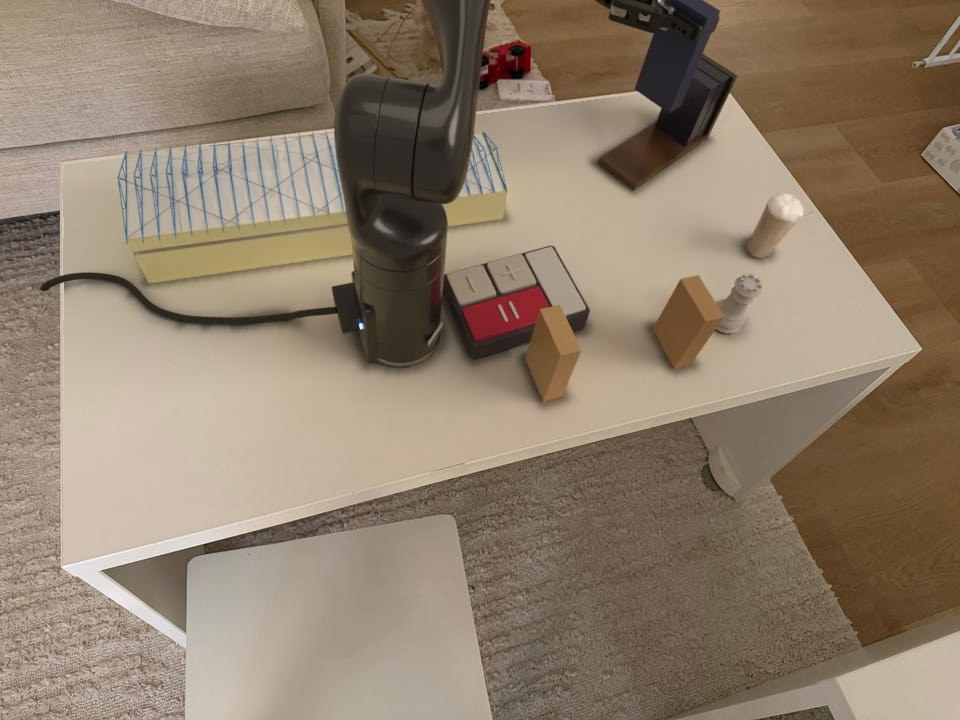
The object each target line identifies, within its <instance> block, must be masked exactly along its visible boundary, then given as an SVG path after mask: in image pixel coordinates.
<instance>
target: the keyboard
mask: <svg viewBox="0 0 960 720" xmlns="http://www.w3.org/2000/svg"><path fill="white" fill-rule="evenodd" d="M297 134H298V136H297V135H296V136H289V137H286V136H284V137H279V138H278V137H277V138H272V136H270V138H268V139H259V138H258V137H256V140H249V141H244V139H242V141H240V142H239V141H238V142H230V140H229V139H228V141H227V142H225V143H218V144H216V141H214V142H213V144H210V145H202V144H201V143H199V146H191V147H187V145H186V144H185V145H184V147H180V148H172V147H173V146H170V147H169V149H160V150H158V149H157V147H155V149H154V150H149V151H143V150H142V149H140V151H139V152H129V153H128V151H127V150H125V153H124V156H123V159H122V161H121V165H120V169H119V171H118V175H117V176H116V179H117V184H118V191H119V199H120V206H121V207H120V208H121V212H122V213H121V215H122V220H123V228H124V235H125V236H124V237H125V241H126V245H127V246H128V247H129V249H130V251H131V253H133V256H134V259H135V260H136V262H137V264H138V266H139V268H140V270H141V271H142V274H143V275H144V277H145V279H146V281H147V283H148V284H155V283H161V282H169V281H175V280H183V279H188V278H189V279H191V278H197V277H204V276H211V275H217V274H218V275H219V274H226V273H232V272H238V271H245V270H252V269H260V268H261V269H262V268H267V267H274V266H281V265H288V264H289V265H290V264H294V263H302V262H309V261H315V260H316V261H317V260H322V259H329V258H330V259H331V258H337V257H344V256H351V255H352V256H353V252H352V243H351V234H350V232H349V229H348V225H347V218H346V211H345V205H344V199H343V193H342V188H341V183H340V178H339V173H338V167H337V160H336V152H335V137H334V132H327V131H325V133H318V134H314V132H313V131H312V132H311V133H310V134H307V135H303V134H302V135H300V133H297ZM491 144H492V145H491ZM492 146H493V147H494V148H492ZM494 151H496V159H497V161H496V159H495V156H494V153H493V152H494ZM124 165H125V166H124ZM124 167H125V168H124ZM122 172H123V175H121V173H122ZM123 176H124V178H123ZM121 181H124V182H125V197H124V192H123V189H122V184H121ZM507 197H508V188H507V183H506V179H505V175H504V170H503V166H502V163H501V158H500V154H499V151H498V146H496V144H495V143H494V142H493V141H492V140H491V139H490V137H489V136H488V135H487V134H486V132H485V131H483V132H476V133H475V132H474V136H473V144H472V151H471V157H470V163H469V168H468V172H467V176H466V180H465V183H464V185H463V188H462V190H461V192H460V194H459V196H458V197H457V198H456V199H455V200H454V201H453V202H451V203H449V204H442V205H443V207H444V209H445V211H446V215H447V220H448V227H454V226H462V225H469V224H478V223H483V222H490V221H492V222H493V221H498V220H503V219H504V213H505V209H506V203H507ZM123 204H124V205H123ZM123 206H124V207H123ZM124 211H125V214H124Z"/></svg>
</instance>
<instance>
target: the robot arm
mask: <svg viewBox="0 0 960 720" xmlns="http://www.w3.org/2000/svg"><path fill="white" fill-rule="evenodd" d="M491 1H492V0H420V2H421V4H422V6H423V8H424V10H425V13H426V15H427V18H428V20H429V23H430V27H431V29H432V33H433V36H434V39H435V42H436V45H437V50H438V54H439V59H440V64H441V71H442V78H441V81H440V82H439V83H437V84H433V83H429V82H423V81H418V80H411V79H405V78H399V77H392V76H387V75H382V74H381V75H380V74H376V73H368V72H365V73H364V72H362V73H356V74H354V75H352V76H351V77H350V78H349V79H348V80H347V81H346V82H345V83H344V85H343V87H342V89H341V91H340V94H339V96H338V98H337V103H336V107H335V113H334V126H333V133H334V137H335V152H336V160H337V167H338V173H339V178H340V183H341V188H342V193H343V199H344V205H345V211H346V218H347V225H348V229H349V232H350V234H351V243H352V252H353V254H352V261H353V270H352V271H351V275H350V276H351V282H348V283H342V284H336V285H333V286H331V292H332V299H333V302H334V303H333V304H334V306H328V307H327V306H326V307H318V308H317V307H316V308H309V309H301V310H295V311H293V312H292V311H291V312H286V313H275V314H267V315H258V316H257V315H256V316H255V315H254V316H241V317H240V316H239V317H237V316H236V317H232V316H231V317H229V316H228V317H224V316H203V315H199V316H198V315H190V314H189V315H188V314H182V313H177V312H174V311H170V310H167V309H164V308H162V307H160V306H157V305H156V304H154V303H153V302H151V301H150V300H149V299H148V298H147V297H146V296H145V295H144V293H142V291H141V290H139V288H138V287H137V286H135V284H133V283H132V282H131V281H130V280H128V279H126V278H124V277H122V276H118V275H115V274H111V273H104V272H90V271H89V272H87V271H86V272H85V271H83V272H73V273H67V274H62V275H58V276H55V277H53V278H50V279H49V280H47V281H45V282H44V283H43V284H42V285H41V286H40V287H39V291H41V292H47V291H49V290H51V288H53V287H54V286H57V285H60V284H62V283H66V282H73V281H80V280H82V281H83V280H94V281H95V280H97V281H106V282H110V283H111V282H112V283H116V284H118V285H121V286H123V287H124V288H126V289H127V290H128V291H129V292H131V294H132V295H133V296H134V297H135V298H136V299H137V300H138V301H139V302H140V303H141V304H142V305H143V306H144V307H145V308H146V309H148V310H149V311H151V312H152V313H154V314H155V315H158V316H161V317H163V318H166V319H170V320H174V321H177V322H182V323H190V324H203V325H253V324H254V325H255V324H264V323H271V322H282V321H290V320H295V319H300V318H308V317H318V316H328V315H329V316H330V315H337V318H338V321H339V326H340V330H341V333H342V334H347V333H352V332H357V331H358V332H359V339H360V343H361V345H362V347H363V351H364V354H365V358H366V362H367V363H368V364H373V363H379V364H382V365H385V366H386V367H387V366H388V367H393V368H408V367H413V366H416V365H418V364H421V363H423V362H425V361H426V360H427V359H429V358H430V357H431V356H432V355H433V354H435V351H436V350H437V349H438V346H439V344H440V340H441V332H442V331H441V329H442V328H443V325H444V321H443V320H442V308H443V307H442V306H443V297H444V295H443V283H444V275H445V267H446V255H447V245H448V244H447V243H448V232H449V231H448V229H449V226H448V220H447V215H446V211H445V209H444V207H443V205H442V204H449V203H451V202H453V201H454V200H455V199H456V198H457V197H458V196H459V194H460V192H461V190H462V188H463V185H464V183H465V180H466V176H467V172H468V168H469V163H470V157H471V151H472V144H473V136H474V134H475V126H476V118H477V107H478V99H479V92H480V91H479V90H480V82H481V81H480V80H481V71H482V63H483V53H484V48H485V47H484V45H485V37H486V30H487V23H488V19H489V10H490V7H491V6H490V5H491ZM594 1H595V2H596V3H598V4H600V5H601V6H603V7H604V8H606V9H607V10H609V13H608V16H607V18H608V20H609V21H611V22H614V23H618V24H620V25H624V26H627V27H630V28H634V29H637V30H640V31H643V32H646V33H649V34H654V33H655V32H656V30H657V29H658V28H660V29H662V30H664V31H668V30H671V31H672V32H674V33H675V34H677V35H678V36H680V37H682V38H683V39H685V40H687V41H688V42H690V43H692V44H693V43H695V42H697V41H698V40H699V38H700V36H701V33H702V31H703V25H702V24H701V23H699V22H698V21H696V20H695V19H693V18H691V17H690V16H688V15H687V14H685V13H683V12H682V11H680V10H679V11H677V12H676V7H674V6H673V5H672V4H670V3H669V2H668V1H666V0H594ZM719 22H720V15H719V16H718V18H717V21H716V23H715V25H714V28H713V30H712V32H711V34H713V33H714V32H715V31H716V28H717V26H718V25H719ZM441 320H442V321H441Z"/></svg>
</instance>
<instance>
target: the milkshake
mask: <svg viewBox="0 0 960 720" xmlns="http://www.w3.org/2000/svg"><path fill="white" fill-rule="evenodd" d="M804 213H805V212H804V206H803V204H802V203H801V201H800V200H799V199H797V197H795V196H794V195H792V194H790V193H784V192H783V193H776V194H774V195H773V196H771V197H770V198H769V199H768V200H767V203H766V204H765V207H764V209H763V211H762V213H761V216H760V218H759V220H758V221H757V224H756V226H755V228H754V230H753V232H752V234H751V235H750V237H749V240H748V241H747V243H746V245H745V248H746V251H747V253H748V254H750V255H751V256H752V257H754V258H757V259H765V258H768V256H769V255H770V254H771V253H772V252H773V251H774V249H775V248H776V247H777V246H778V245H779V243H780V242H781V241H782V240H783V239H784V237H785V236H787V235H788V233H789V232H790V231H791V230H792V229H793V227H794V226H795V225H796V224H797V223H798V222H799V221H800V220H801V219H802V218H804V217H806V216H807V215H809V214H812V213H814V210H813V211H810V212H808V213H807V214H804Z"/></svg>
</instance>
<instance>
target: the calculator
mask: <svg viewBox="0 0 960 720" xmlns="http://www.w3.org/2000/svg"><path fill="white" fill-rule="evenodd" d="M443 298H444V299H445V302H446V304H447V306H448V308H449V311H450V313H451V315H452V318H453V320H454V322H455V325H456V327H457V330H458V331H459V334H460V336H461V338H462V340H463V343H464V345H465V347H466V350H467V352H468V355H469V357H470V358H471V359H472V360H478V359H481V358H485V357H488V356H491V355H495V354H498V353H500V352H501V353H502V352H504V351H508V350H511V349H514V348H517V347H520V346H524V345H527V344H530V341H531V338H532V334H533V331H534V327H535V324H536V320H537V317H538V313H539V310H540V309H543V308H548V307H552V306H557V305H561V308H562V310H563V312H564V314H565V316H566V318H567V320H568V323H569V325H570V327H571V329H572V331H573V333H574V332H577V331H580V330H583V329H585V327H586V324H587V321H588V318H589V315H590V312H591V309H590V307H589V306H588V304H587V302H586V301H585V299H584V297H583V295H582V293H581V291H580V290H579V288H578V285H577V284H576V283H575V281H574V279H573V277H572V275H571V274H570V272H569V270H568V268H567V267H566V265H565V263H564V261H563V259H562V258H561V256H560V254H559V252H558V251H557V249H556V247H555V246H554V245H547V246H544V247H540V248H536V249H532V250H529V251H526V252H525V251H524V252H521V253H518V254H514V255H511V256H507V257H504V258H499V259H496V260H492V261H489V262H485V263H481V264H478V265H474V266H470V267H466V268H463V269H460V270H456V271H453V272H449V273H444V283H443Z"/></svg>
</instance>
